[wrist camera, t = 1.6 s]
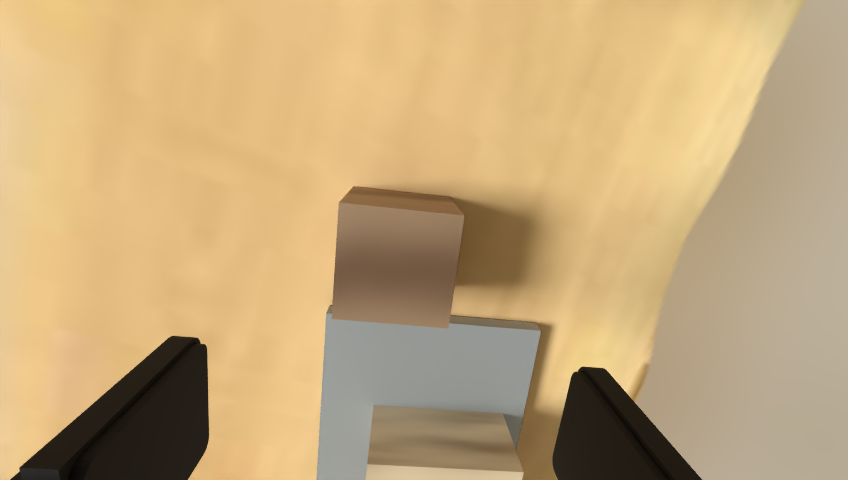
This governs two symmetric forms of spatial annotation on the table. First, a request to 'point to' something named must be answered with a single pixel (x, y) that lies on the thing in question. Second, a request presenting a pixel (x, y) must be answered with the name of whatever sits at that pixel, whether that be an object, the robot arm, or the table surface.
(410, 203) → the walnut block
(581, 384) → the robot arm
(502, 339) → the base board
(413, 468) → the oak block
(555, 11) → the table surface
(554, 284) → the table surface
